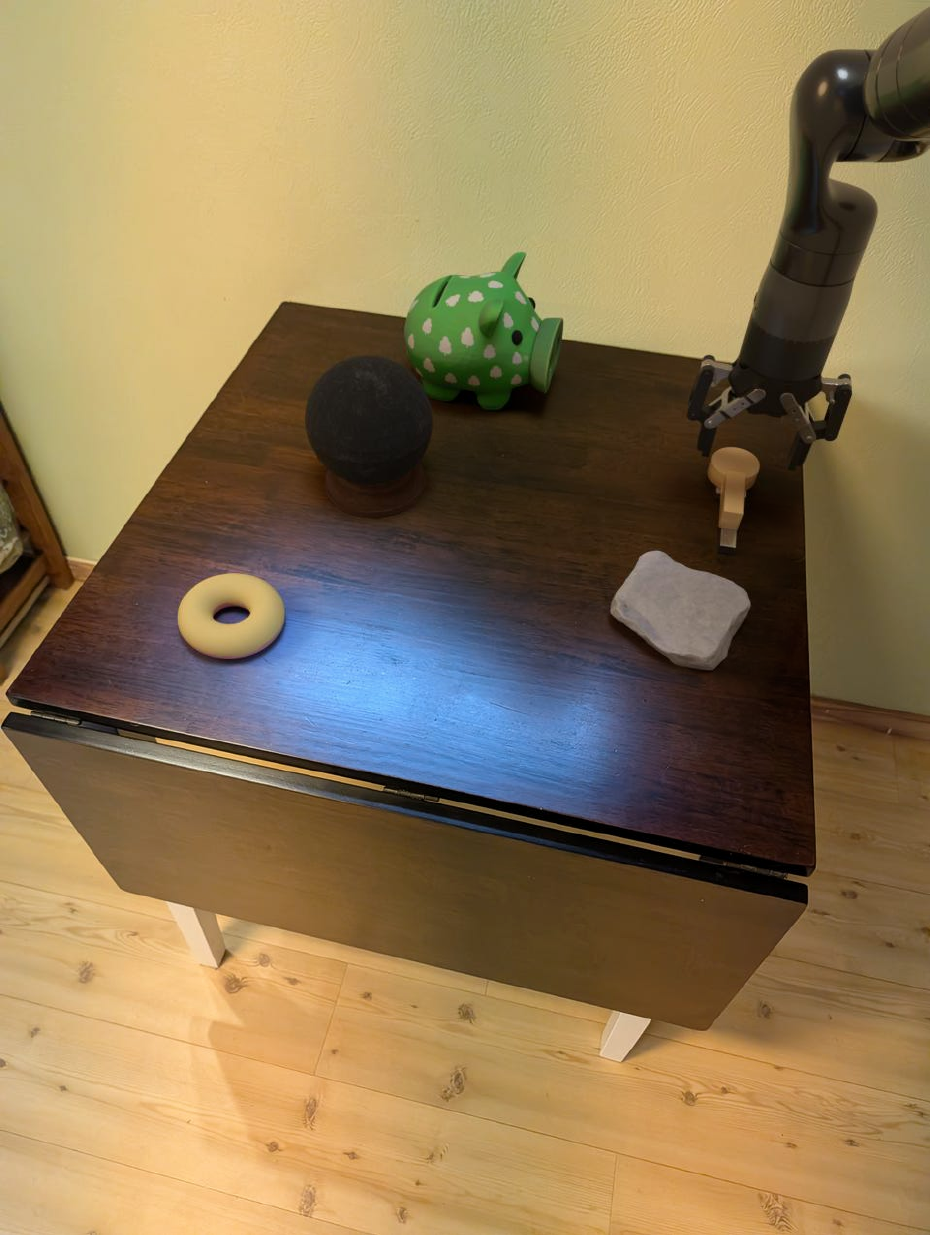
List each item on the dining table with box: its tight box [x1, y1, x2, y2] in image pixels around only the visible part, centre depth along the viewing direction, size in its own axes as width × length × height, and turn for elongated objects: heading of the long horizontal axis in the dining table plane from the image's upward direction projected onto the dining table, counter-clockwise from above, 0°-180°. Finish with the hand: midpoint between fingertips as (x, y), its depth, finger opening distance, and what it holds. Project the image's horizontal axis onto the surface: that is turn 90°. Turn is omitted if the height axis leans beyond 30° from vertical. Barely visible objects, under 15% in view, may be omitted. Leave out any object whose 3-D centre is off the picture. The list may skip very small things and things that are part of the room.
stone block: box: [609, 550, 752, 671], centre depth 81 cm, size 12×5×10 cm
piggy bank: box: [403, 251, 564, 411], centre depth 99 cm, size 14×18×15 cm
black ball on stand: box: [304, 354, 434, 519], centre depth 88 cm, size 13×13×15 cm
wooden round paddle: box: [707, 446, 761, 531], centre depth 91 cm, size 11×5×2 cm, turn 167°
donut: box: [177, 572, 286, 660], centre depth 80 cm, size 10×5×9 cm
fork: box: [713, 485, 747, 556], centre depth 92 cm, size 14×3×1 cm, turn 167°
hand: (747, 458), depth 86 cm, fingers open, 8 cm apart
